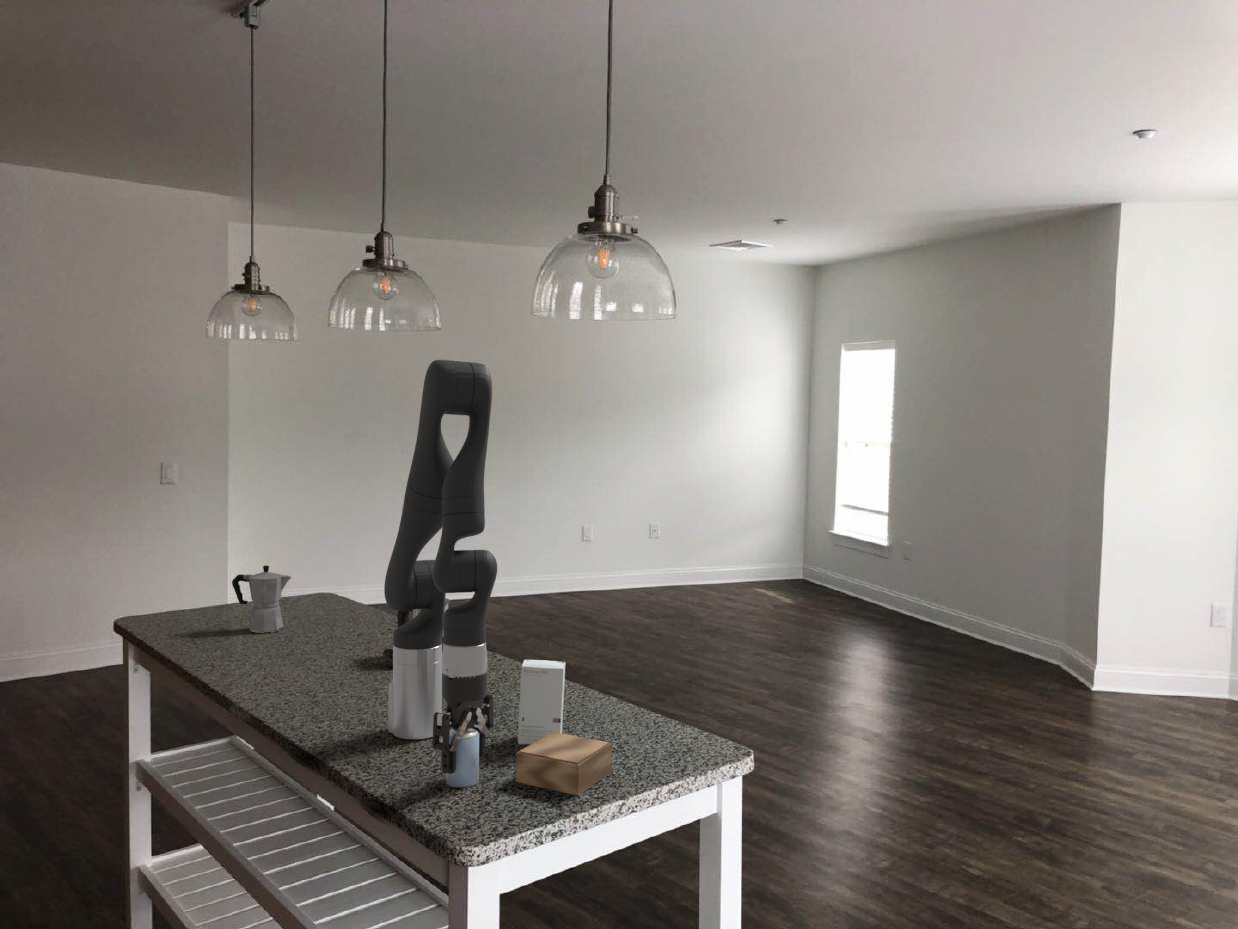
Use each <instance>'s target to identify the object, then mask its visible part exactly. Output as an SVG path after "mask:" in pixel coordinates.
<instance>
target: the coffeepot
mask: <svg viewBox="0 0 1238 929" xmlns="http://www.w3.org/2000/svg"><path fill="white" fill-rule="evenodd" d="M262 568H263V569H262V570H263V571H262V572H259V573H255V574H237V575H236V576H235V577H234V578H233V579H232V581H231V585H232V588H233V590H234V592H235V595H236V598H237V600H238V603H239V604H240V605H248V602H249V601H248V600H244V598H243V596H244V595H243V593H242V591H241V585H240V583H239V582H244V583H245V582H246V583H248V584H249V586H248V587H249V590H250V592H249V593H250V597H251V601H253V603H252V604H253V607H251V612H250V618H249V623H248V628H250V629H251V630H256V631H268V630H276V629H279V628H281V627H284V622H283V616H282V611H281V606H280V602H279V601H280V600H281V598H282V592H283V590H284V588H285V587H286V585H287V583H288V582H289V580H291V579H292V577H291V576H290V575H286V574H281V573H276V572H271V571H270V570H269V569H270V566H269V565H263V566H262Z"/></svg>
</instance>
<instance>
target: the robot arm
mask: <svg viewBox="0 0 1238 929" xmlns="http://www.w3.org/2000/svg"><path fill="white" fill-rule="evenodd" d="M423 381H424V382H423V386H422V394H421V402H420V410H419V411H420V412H419V421H418V428H417V434H416V442H415V446H414V452H413V455H412V460H411V465H410V470H409V474H408V477H407V482H406V487H405V492H404V499H403V505H402V509H401V510H402V511H401V517H400V521H399V527H398V531H397V534H396V535H397V536H396V539H395V543H394V545H393V550H392V552H391V556H390V558H389V559H390V560H389V562H388V566H387V569H386V573H385V578H384V587H383V588H384V591H383V592H384V599H385V602H386V605H388V607H389V608H390V609H392V610H393V611H398V610H415V609H420V612H419V614H418V615H417V616H416V617H415V618H414V619H410V620H409V622H408V623H406V624H404V625H402V626H400V627H398V626H397V628H395V630H394V631H393V636H392V644H393V646H392V649H393V654H392V655H393V664H392V682H390V683H388V709H387V710H388V717H387V718H388V722H387V723H388V731H387V733H390V734H392V735H393V736H395V737H396V738H399V739H404V740H425V739H429V738H432V749H433V750H437V751H440V752H441V770H442V772H443V773H444V774H446V773H449V774H453V773H454V772H455V771H456V751H455V748H456V746H457V743H458V740H459V739H461V738H462V737H463V734H464V732H465V731H467V730H468V729H469V728H473V729H475V730H477V732H478V733H479V759H481V758H484V757H485V756H486V736H487V734H488V732H489V729H493V728H494V724H495V723H494V696H493V694H490V693H489V694H488V650H487V642H486V641H487V638H486V637H487V633H486V632H487V616H488V615H487V614H488V607H489V604H490V599H491V596H492V592H493V590H494V587H495V583H496V579H497V575H498V563H497V562H498V561H497V559H496V557H495V556H494V554H493V553H492V552H491V551H489V550H487V549H462V550H461V549H459V550H455V547H456V544H457V543H458V542H459V541H460V540H462V539H465V538H469V537H474V536H477V535H481V534H482V533H483V532H484V530H485V528H486V520H485V518H486V517H485V516H486V515H485V512H486V511H485V472H486V471H485V468H486V459H487V451H488V442H489V433H490V423H491V422H490V421H491V412H492V411H491V410H492V401H493V382H492V374H491V373H490V370H489V367H488V366H486V364H484V363H479V362H471V361H470V362H469V361H462V360H461V361H458V360H448V359H434V360H433V361H432V362H431V363H430V364H429V366H428V367H427V369H426V371H425V376H424V380H423ZM444 415H454V416H467V417H469V419H468V430H467V435H466V438H465V440H464V443H463V444H462V446H461V449H460V450H459V452H458V454H457V455H456V457H455V459H454V458H453V457H452V455H451V453H450V451H449V449H448V447H447V444H446V442H445V440H444V437H443V433H442V419H443V416H444ZM440 530H441V535H440V541H439V546H438V548H437V549H438V550H437V553H436V556H435V559H423V560H422V559H420V560H418V557H419V555H420V554H421V552H422V551H423V549H424V548H425V547H426V545H427V544H428V543H429V542H430V541H431V540H432V539H433V538H434V537H435V536H436V535H437V534H438V533H439V532H440ZM457 593H458V594H459V593H473V596H472V597H471V598H470V600H469V601H467V602H464V603H461V604H458V605H453V606H451V607H448V609H447V610H446V611H445V598H446V596H447V595H446V594H457ZM444 611H445V613H444ZM443 629H444V635H443ZM442 635H443V642H444V643H443V651H442ZM442 699H444V700H445V702H446V708H445V711H443V712H442V709H443V708H442V707H443V705H442V704H443V702H442V701H443V700H442ZM485 716H486V717H487V720H486V719H485ZM452 729H453V730H455V731H450V730H452ZM440 737H441V738H440ZM450 737H452V741H451V743H450V744H449V738H450Z"/></svg>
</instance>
